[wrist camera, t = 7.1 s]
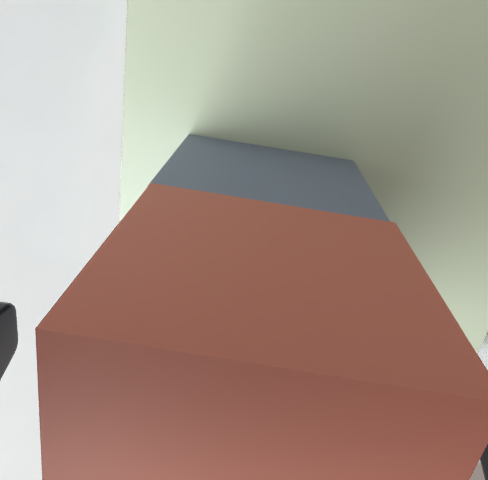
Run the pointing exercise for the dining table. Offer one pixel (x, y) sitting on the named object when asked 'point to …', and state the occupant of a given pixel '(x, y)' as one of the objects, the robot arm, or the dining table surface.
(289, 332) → the red brick
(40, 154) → the dining table surface
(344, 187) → the blue brick
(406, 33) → the build board
